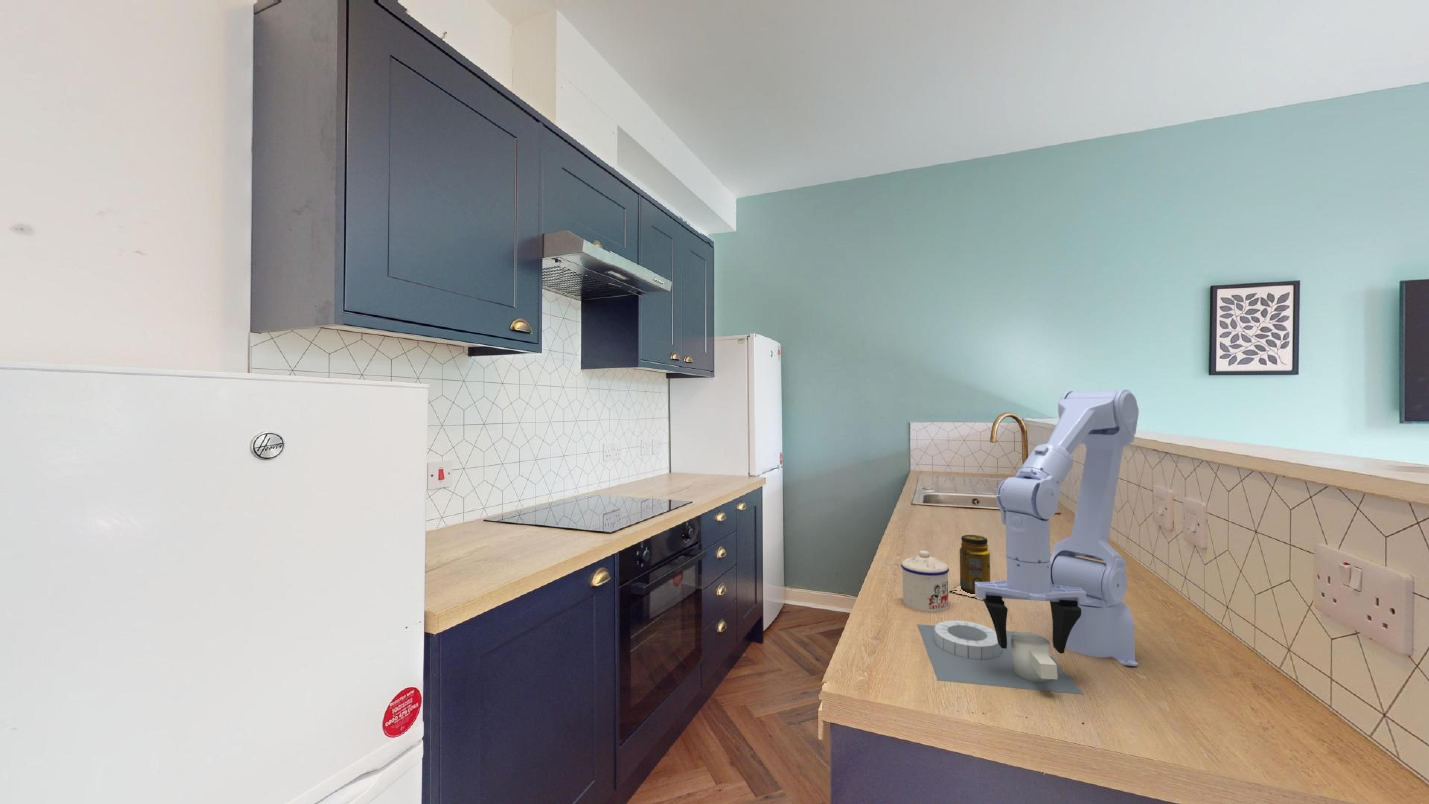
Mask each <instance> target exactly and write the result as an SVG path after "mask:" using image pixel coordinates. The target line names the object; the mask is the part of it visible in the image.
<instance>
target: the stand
mask: <svg viewBox="0 0 1429 804" xmlns="http://www.w3.org/2000/svg"><path fill="white" fill-rule="evenodd" d="M916 626H917V628H918V631H919V633H920V636H921V639H922V641H923V645H924V648H925V650H926V652H927V655H928V659H929V661H930V664H931V667H932V669H933V671H934V674H935V677H936V679H937V681H939V682H940V681H941V682H950V683H951V682H952V683H960V684H961V683H962V684H971V685H982V686H988V687H989V686H992V687H1000V688H1001V687H1002V688H1003V687H1004V688H1011V689H1012V688H1013V689H1021V690H1031V691H1041V692H1043V691H1044V692H1051V693H1062V694H1070V695H1071V694H1073V695H1081V696H1082V695H1083V696H1084V695H1085V693H1084V692H1082V690H1081V689H1080V688H1079V687H1078V686H1077V685H1076V683H1075V682H1074V681H1073V680H1072V678H1071V677H1070V676H1069V675H1068V674H1067V673H1066V671H1064V669H1063V668H1062V667H1061V666H1060V665H1059V663H1058V662H1057V661H1056V659H1054V658H1053V657H1052V655H1051V654H1050V657H1051V659H1052V660H1053V661H1054V662H1055V663H1056V665H1057V679H1050V680H1049V681H1046V682H1035V681H1030V680H1026V679H1023V678H1021V677H1019V676H1017V675H1016V674H1015V673H1014V672H1013V669H1012V649H1011V635H1012V634H1014V633H1020V632H1021V631H1014V630H1013V631H1011V630H1006V634H1007V649H1004V648H1001V647H1000V645H999V644H998V641H997V635H996V631H995V629H993V628H991V627H990V626H989V627H988V626H986V625H983V624H980V623H977V622H974V621H973V622H971V621H966V620H956V619H955V620H945V621H941V622H939V623H936V625H931V624H921V623H920V624H919V623H917V625H916ZM1023 632H1024V631H1023ZM1024 633H1028V632H1026V631H1025V632H1024Z"/></svg>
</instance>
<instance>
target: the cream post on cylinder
mask: <svg viewBox="0 0 1429 804" xmlns="http://www.w3.org/2000/svg"><path fill="white" fill-rule="evenodd" d="M1019 632H1020V633H1014V634H1012V635H1011V649H1012V669H1013V672H1014V673H1015V674H1016V675H1017V676H1019V677H1021V678H1023V679H1026V680H1030V681H1035V682H1046V681H1049V680H1050V679H1057V665H1056V663H1055V662H1054V661H1053V660H1052V659H1051V657H1052V656H1051V657H1050V655H1051V642H1050V641H1049V639H1048V638H1046V637H1043V636H1042V635H1038V634H1036V633H1032V632H1027V633H1024V631H1023V632H1022V631H1019Z"/></svg>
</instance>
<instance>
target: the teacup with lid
mask: <svg viewBox="0 0 1429 804" xmlns="http://www.w3.org/2000/svg"><path fill="white" fill-rule="evenodd" d="M900 567H901V570H902V571H901V572H902V573H901V574H902V577H901V578H902V604H903V605H904V606H906V607H908V608H910V609H912V610H915V611H918V612H924V613H942V612H945V611H947V610H948V609H949V608H950V607H949V606H950V605H949V575H948V573H949V572H950V569H949V566H948V564H946V563H945V562H944V561H942V560H939V559H937V558H935V557H933V556H931V554H930V551H928V550H920V551H919V552H918V554H917V555H914V556H913V557H909V558H905V559H904V560H902V562H901V564H900Z"/></svg>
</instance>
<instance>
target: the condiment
mask: <svg viewBox="0 0 1429 804" xmlns="http://www.w3.org/2000/svg"><path fill="white" fill-rule="evenodd" d="M960 540H961V543H960V545H961V546H960V548H959V582H960V583H959V585H960V586H961V589H962V590H963V591H965V592H967V593H970V594H975V582H991V554H990V550H989V549H988V548H989V545H988V538H987V537H985V536H981V535H976V534H964V535H962V536H961V538H960ZM956 587H957V586H955V587H954V588H956ZM949 591H957V590H952V589H950V590H949ZM954 594H956V593H954ZM956 595H957V594H956ZM966 597H967V598H969V597H968V596H966ZM971 597H977V596H971ZM976 600H981V601H983V599H980V598H977V599H976Z"/></svg>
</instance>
